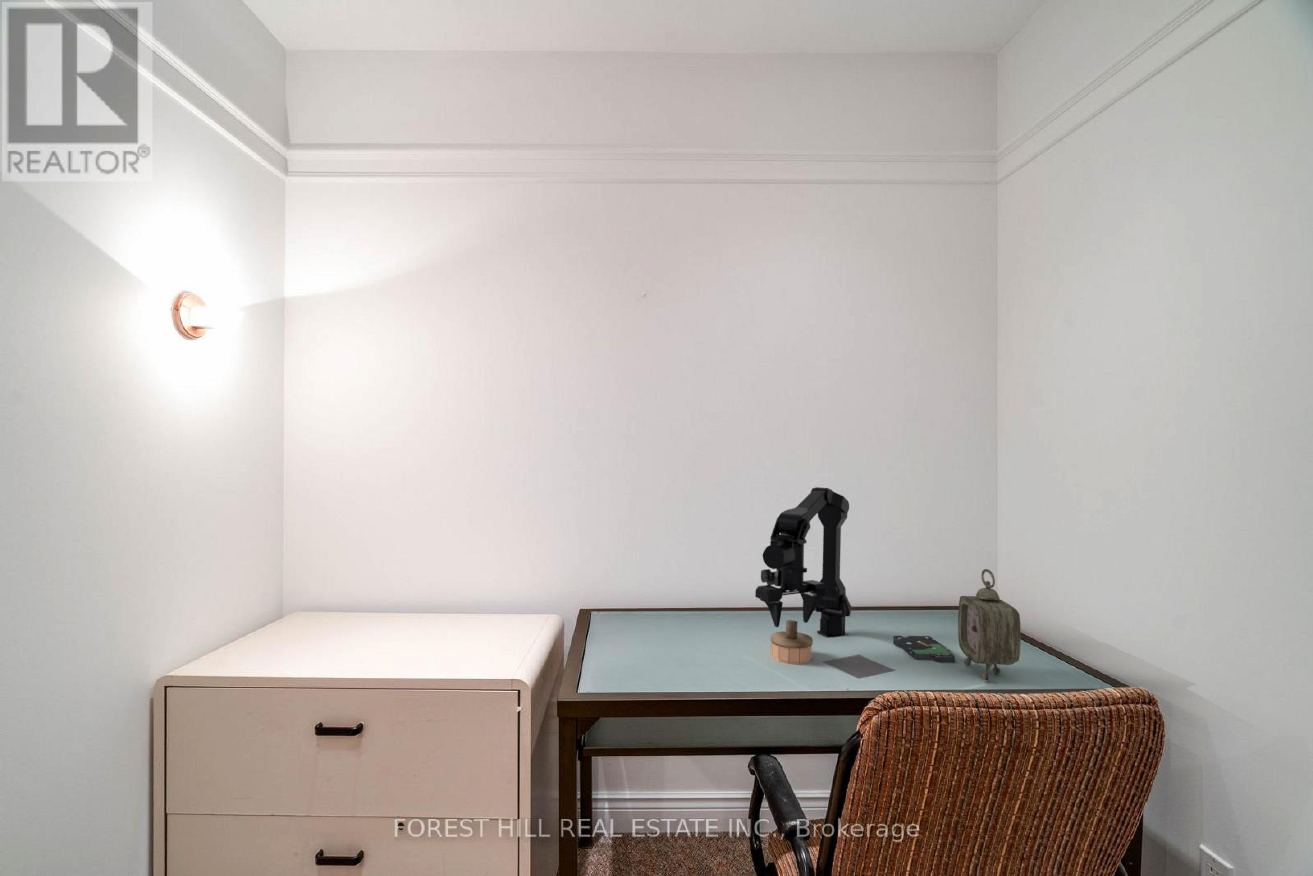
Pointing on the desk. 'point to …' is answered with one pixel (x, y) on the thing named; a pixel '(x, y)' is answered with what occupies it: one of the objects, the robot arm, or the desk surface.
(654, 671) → the desk surface
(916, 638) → the disk drive
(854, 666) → the trivet
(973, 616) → the tabletop clock
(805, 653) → the bowl
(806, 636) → the lid
